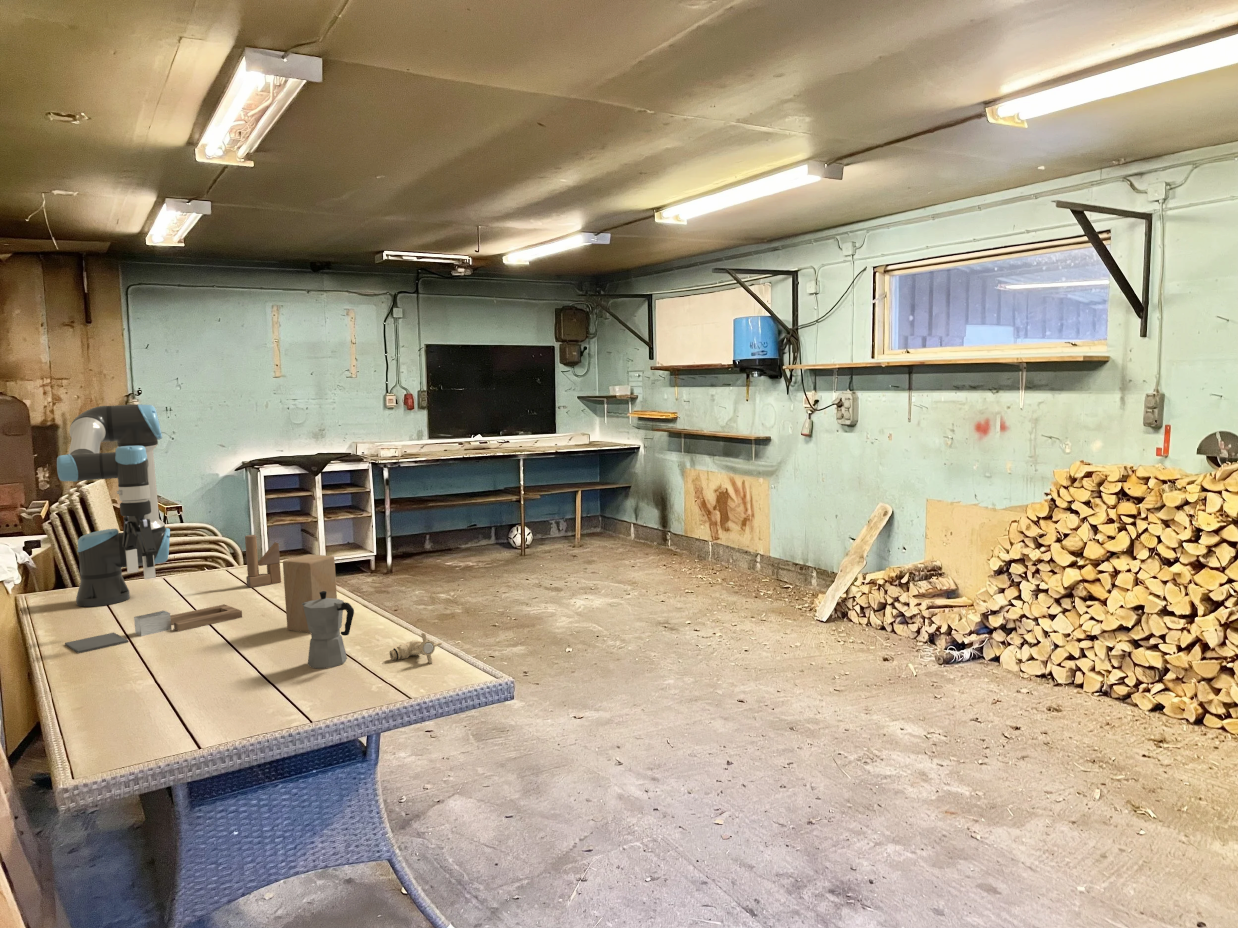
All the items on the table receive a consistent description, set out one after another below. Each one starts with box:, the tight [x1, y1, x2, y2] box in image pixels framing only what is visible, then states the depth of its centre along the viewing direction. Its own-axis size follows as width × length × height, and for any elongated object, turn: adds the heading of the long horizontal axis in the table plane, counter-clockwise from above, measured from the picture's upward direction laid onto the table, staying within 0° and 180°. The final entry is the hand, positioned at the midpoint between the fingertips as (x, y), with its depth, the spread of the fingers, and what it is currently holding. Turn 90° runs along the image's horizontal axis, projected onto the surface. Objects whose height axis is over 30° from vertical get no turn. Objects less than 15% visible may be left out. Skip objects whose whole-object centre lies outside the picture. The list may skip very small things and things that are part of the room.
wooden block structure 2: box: [244, 534, 282, 589], centre depth 296 cm, size 4×11×18 cm, turn 132°
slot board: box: [170, 604, 243, 632], centre depth 251 cm, size 13×18×2 cm
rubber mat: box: [64, 632, 129, 654], centre depth 230 cm, size 12×12×1 cm
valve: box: [388, 632, 443, 664], centre depth 209 cm, size 8×12×10 cm
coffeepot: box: [302, 591, 355, 670], centre depth 207 cm, size 15×9×18 cm, turn 68°
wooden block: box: [282, 553, 338, 634], centre depth 239 cm, size 10×10×20 cm
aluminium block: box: [133, 610, 172, 637], centre depth 241 cm, size 4×8×5 cm, turn 139°
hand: (141, 575), depth 238 cm, fingers open, 13 cm apart
